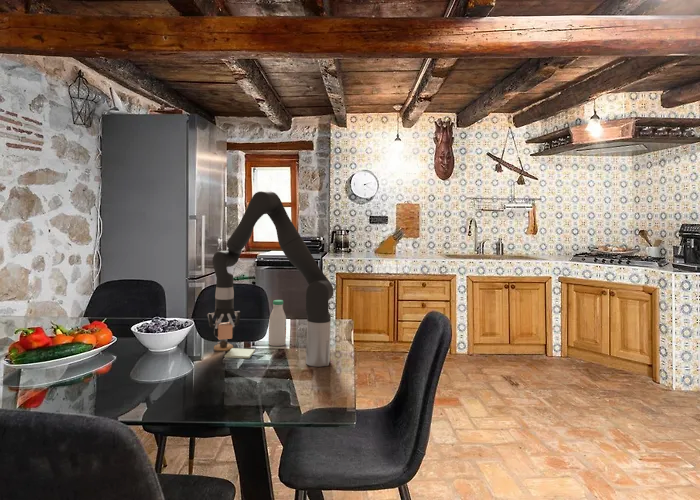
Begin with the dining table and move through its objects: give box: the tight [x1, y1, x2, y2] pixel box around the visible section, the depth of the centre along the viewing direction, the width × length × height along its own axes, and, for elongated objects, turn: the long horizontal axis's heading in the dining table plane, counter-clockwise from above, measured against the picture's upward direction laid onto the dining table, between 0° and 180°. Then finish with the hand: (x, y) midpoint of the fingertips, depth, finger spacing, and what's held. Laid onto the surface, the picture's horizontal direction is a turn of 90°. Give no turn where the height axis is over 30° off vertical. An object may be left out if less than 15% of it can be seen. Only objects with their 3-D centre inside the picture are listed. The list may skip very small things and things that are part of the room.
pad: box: [224, 347, 256, 359], centre depth 181 cm, size 10×10×1 cm
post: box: [213, 339, 234, 353], centre depth 187 cm, size 8×8×9 cm
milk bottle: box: [268, 299, 287, 347], centre depth 197 cm, size 8×8×20 cm
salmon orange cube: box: [216, 321, 233, 341], centre depth 186 cm, size 6×6×6 cm
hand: (224, 336), depth 187 cm, fingers closed on salmon orange cube, 5 cm apart
